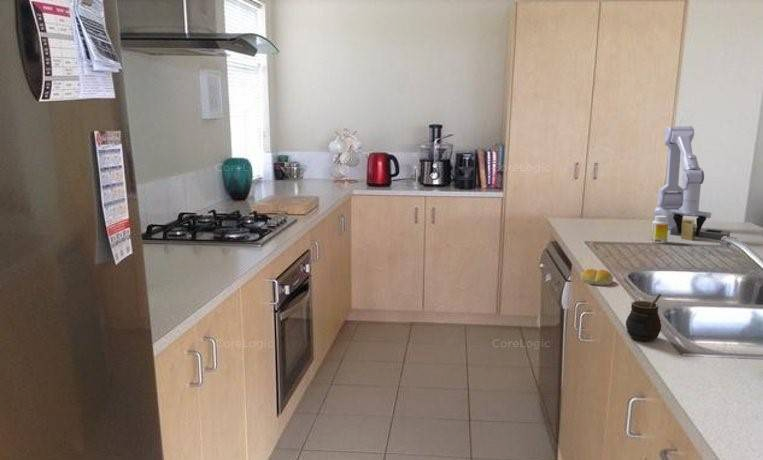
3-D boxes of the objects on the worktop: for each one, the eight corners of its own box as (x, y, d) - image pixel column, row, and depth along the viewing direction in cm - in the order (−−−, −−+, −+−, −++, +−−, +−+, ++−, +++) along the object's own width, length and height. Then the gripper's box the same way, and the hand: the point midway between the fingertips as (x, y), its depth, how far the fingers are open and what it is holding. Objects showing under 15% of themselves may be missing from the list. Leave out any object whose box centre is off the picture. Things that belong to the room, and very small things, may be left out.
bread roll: (584, 277, 184) (584, 264, 183) (614, 281, 180) (615, 268, 179) (577, 283, 177) (577, 270, 177) (608, 288, 173) (609, 274, 172)
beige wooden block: (679, 234, 244) (680, 220, 243) (682, 233, 247) (683, 219, 246) (690, 235, 241) (691, 221, 240) (692, 234, 244) (693, 220, 243)
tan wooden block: (680, 239, 235) (682, 224, 234) (683, 237, 238) (685, 222, 237) (691, 240, 233) (693, 225, 232) (694, 238, 236) (696, 224, 235)
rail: (670, 234, 245) (670, 228, 244) (676, 231, 250) (676, 225, 250) (724, 240, 231) (725, 234, 231) (729, 237, 237) (730, 231, 237)
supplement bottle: (670, 242, 229) (672, 216, 227) (658, 244, 227) (660, 217, 225) (658, 240, 234) (660, 214, 232) (647, 241, 232) (649, 215, 230)
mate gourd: (617, 335, 135) (620, 293, 134) (641, 330, 139) (644, 288, 137) (643, 346, 129) (646, 302, 127) (668, 340, 132) (671, 297, 130)
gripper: (668, 199, 234) (665, 233, 237) (709, 203, 225) (705, 238, 228) (673, 197, 240) (671, 230, 242) (713, 200, 230) (710, 235, 233)
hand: (688, 234), depth 235 cm, fingers open, 6 cm apart
